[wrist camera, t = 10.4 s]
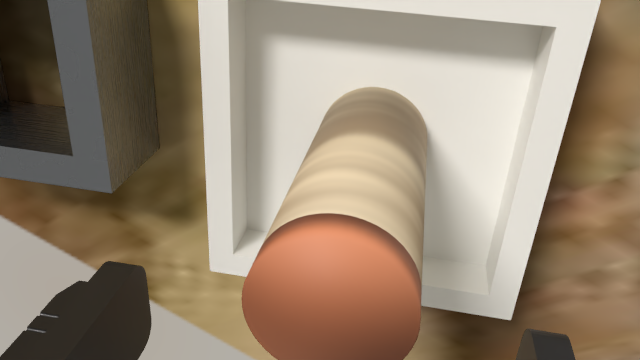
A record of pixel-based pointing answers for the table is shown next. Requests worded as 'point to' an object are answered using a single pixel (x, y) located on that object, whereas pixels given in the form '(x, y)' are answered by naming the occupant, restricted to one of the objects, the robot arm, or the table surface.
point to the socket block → (87, 101)
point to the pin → (347, 239)
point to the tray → (428, 97)
